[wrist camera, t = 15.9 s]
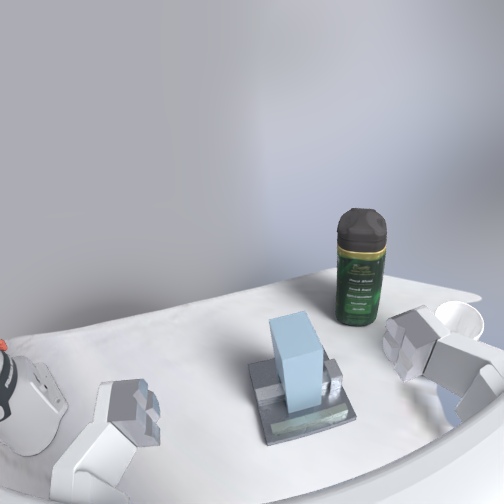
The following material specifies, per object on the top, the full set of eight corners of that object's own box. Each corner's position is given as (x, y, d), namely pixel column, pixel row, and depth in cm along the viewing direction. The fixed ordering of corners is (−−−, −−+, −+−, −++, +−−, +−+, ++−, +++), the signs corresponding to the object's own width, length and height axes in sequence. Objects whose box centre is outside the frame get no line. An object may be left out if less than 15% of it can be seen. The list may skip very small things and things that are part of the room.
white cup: (446, 394, 32) (471, 350, 27) (408, 368, 38) (424, 322, 33) (469, 361, 35) (491, 316, 30) (433, 340, 41) (449, 293, 36)
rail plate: (267, 445, 32) (264, 434, 30) (249, 368, 44) (244, 352, 42) (355, 419, 33) (359, 405, 31) (322, 349, 45) (322, 332, 43)
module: (288, 413, 35) (282, 360, 29) (276, 374, 41) (267, 316, 35) (320, 404, 36) (323, 348, 30) (306, 366, 42) (303, 307, 36)
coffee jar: (377, 330, 46) (389, 232, 37) (332, 326, 49) (333, 229, 40) (378, 294, 54) (386, 204, 45) (339, 291, 57) (339, 203, 48)
